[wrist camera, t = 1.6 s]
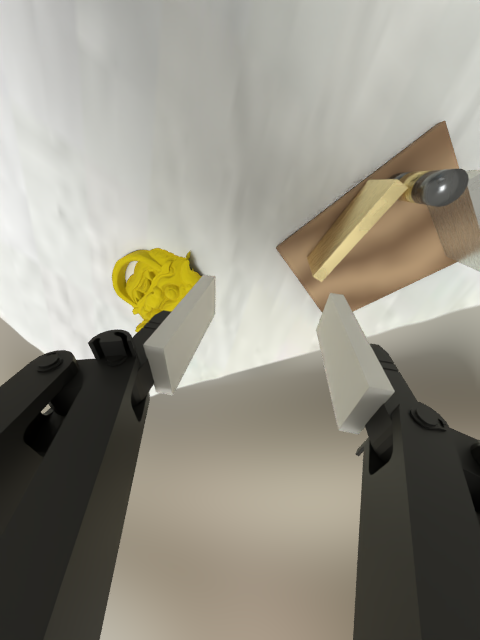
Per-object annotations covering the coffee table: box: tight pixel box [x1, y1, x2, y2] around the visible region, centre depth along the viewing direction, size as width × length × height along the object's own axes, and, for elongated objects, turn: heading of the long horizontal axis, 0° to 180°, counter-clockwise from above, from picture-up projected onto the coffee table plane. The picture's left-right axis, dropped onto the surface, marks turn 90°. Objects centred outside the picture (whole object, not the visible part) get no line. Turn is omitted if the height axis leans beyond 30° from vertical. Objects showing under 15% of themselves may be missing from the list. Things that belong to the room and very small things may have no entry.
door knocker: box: [112, 248, 201, 332], centre depth 36 cm, size 17×16×4 cm
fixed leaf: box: [389, 169, 480, 272], centre depth 20 cm, size 12×4×9 cm, turn 41°
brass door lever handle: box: [307, 170, 433, 282], centre depth 22 cm, size 12×4×7 cm, turn 150°
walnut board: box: [276, 121, 459, 313], centre depth 26 cm, size 15×19×1 cm
